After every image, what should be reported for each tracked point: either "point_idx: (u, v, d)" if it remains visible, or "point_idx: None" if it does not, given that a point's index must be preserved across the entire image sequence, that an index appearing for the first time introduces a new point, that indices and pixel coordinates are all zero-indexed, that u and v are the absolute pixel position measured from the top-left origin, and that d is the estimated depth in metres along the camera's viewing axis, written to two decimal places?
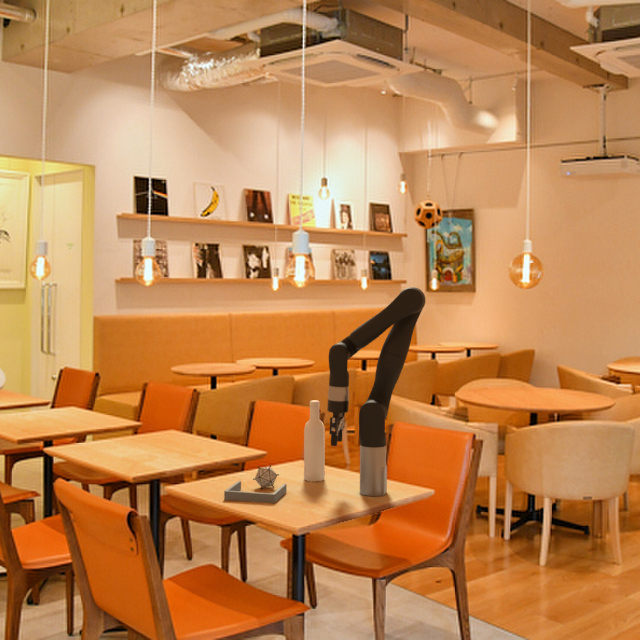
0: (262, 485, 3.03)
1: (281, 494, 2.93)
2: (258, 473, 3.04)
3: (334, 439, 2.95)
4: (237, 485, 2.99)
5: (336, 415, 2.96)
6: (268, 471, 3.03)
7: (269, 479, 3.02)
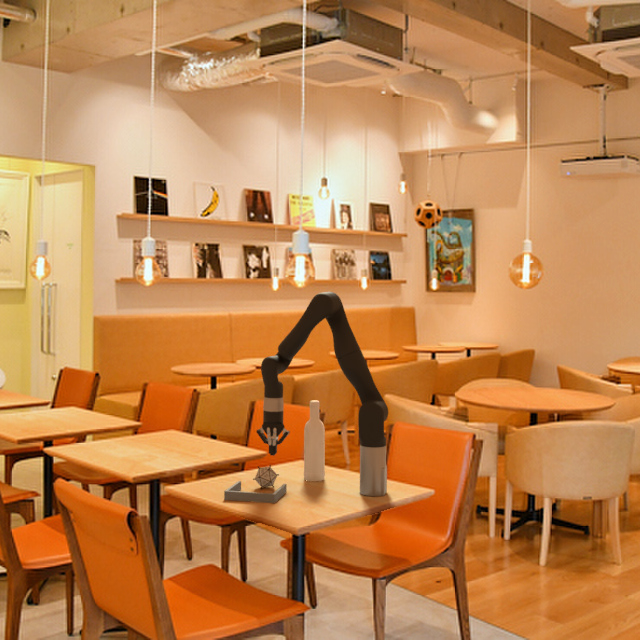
0: (262, 485, 3.03)
1: (281, 494, 2.93)
2: (258, 473, 3.04)
3: (276, 448, 3.14)
4: (237, 485, 2.99)
5: (283, 424, 3.13)
6: (268, 471, 3.03)
7: (269, 479, 3.02)
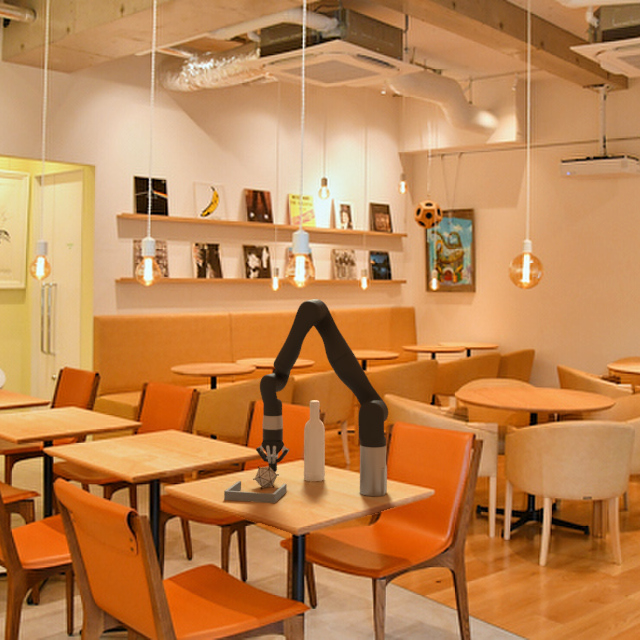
0: (262, 485, 3.03)
1: (281, 494, 2.93)
2: (258, 473, 3.04)
3: (276, 466, 3.13)
4: (237, 485, 2.99)
5: (282, 441, 3.12)
6: (268, 471, 3.03)
7: (269, 479, 3.02)
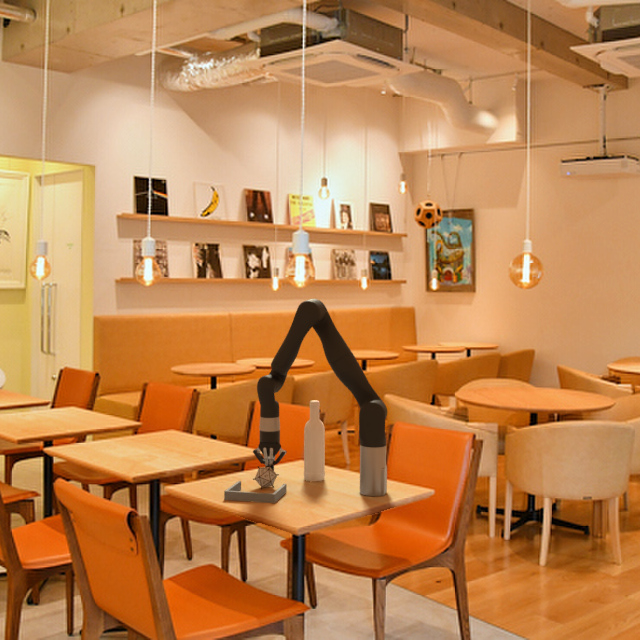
0: (262, 485, 3.03)
1: (281, 494, 2.93)
2: (258, 473, 3.04)
3: (273, 468, 3.10)
4: (237, 485, 2.99)
5: (279, 443, 3.09)
6: (268, 471, 3.03)
7: (269, 479, 3.02)
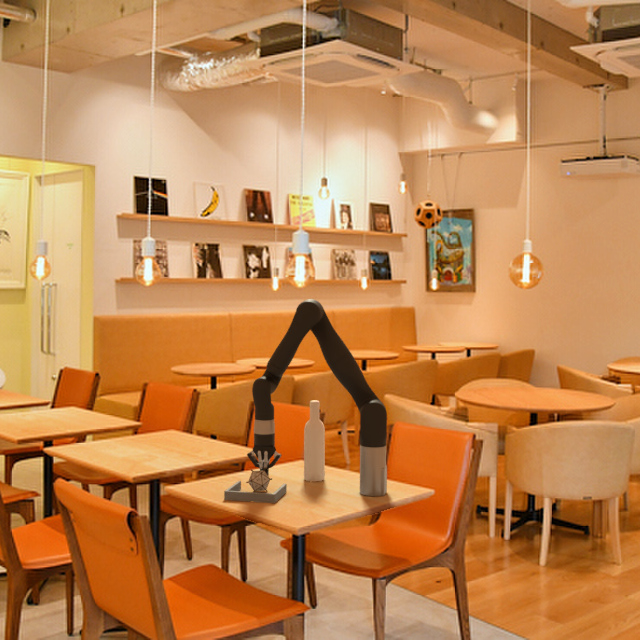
0: (254, 489, 2.97)
1: (281, 494, 2.93)
2: (251, 476, 2.98)
3: (268, 472, 3.04)
4: (237, 485, 2.99)
5: (274, 446, 3.02)
6: (260, 475, 2.97)
7: (261, 483, 2.96)
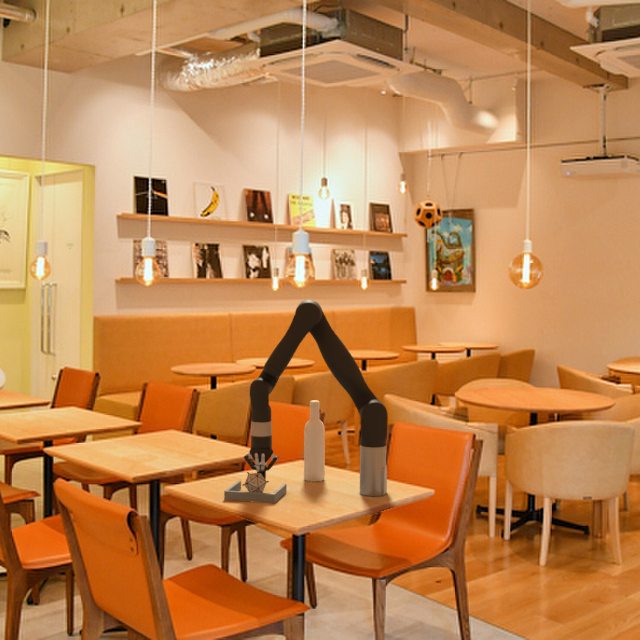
0: (250, 491, 2.94)
1: (281, 494, 2.93)
2: (247, 479, 2.95)
3: (265, 474, 3.00)
4: (237, 485, 2.99)
5: (271, 449, 2.99)
6: (256, 477, 2.93)
7: (257, 486, 2.92)
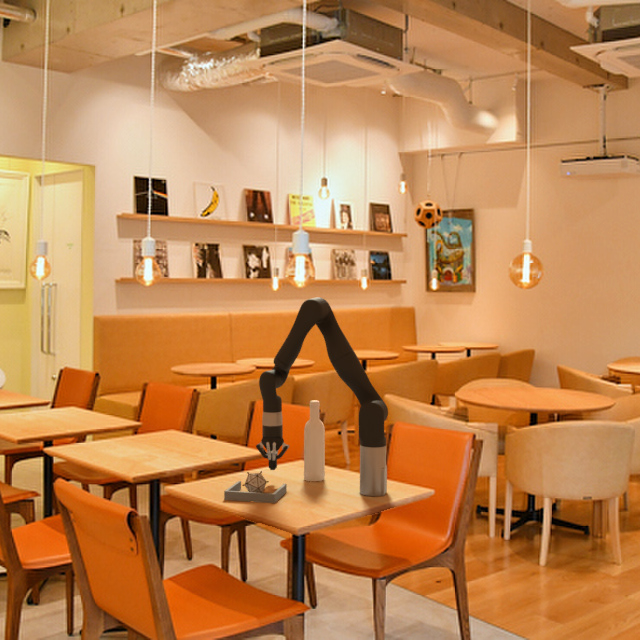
0: None
1: (281, 494, 2.93)
2: (247, 479, 2.95)
3: (276, 463, 3.13)
4: (237, 485, 2.99)
5: (282, 438, 3.12)
6: (256, 477, 2.93)
7: (257, 486, 2.92)
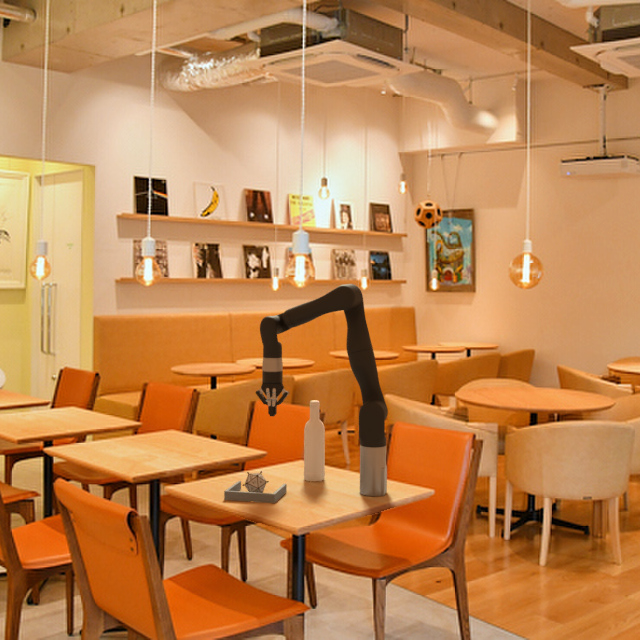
0: None
1: (281, 494, 2.93)
2: (247, 479, 2.95)
3: (276, 409, 3.12)
4: (237, 485, 2.99)
5: (282, 384, 3.11)
6: (256, 477, 2.93)
7: (257, 486, 2.92)
